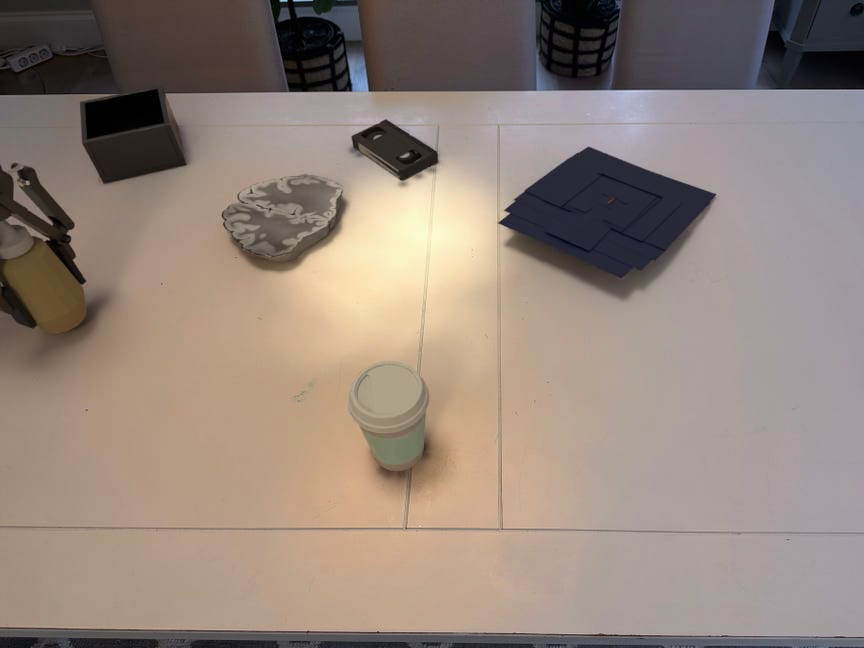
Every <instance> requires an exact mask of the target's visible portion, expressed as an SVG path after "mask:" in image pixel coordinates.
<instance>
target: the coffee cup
mask: <svg viewBox="0 0 864 648" xmlns="http://www.w3.org/2000/svg"><path fill="white" fill-rule="evenodd" d="M347 397H348V398H347V407H348V408H347V409H348V412H349V415H350V417H351V418H352V420H353V421H354V422H355V423H356V424H357V426H359V428H360V431H361V432H362V434H363V437H364V439H365V440H366V442H367V445H368V447H369V449H370V451H371V453H372V454H373V456H374V458H375V460H376V462H377V463H378V465H379V466H380V467H382V468H383V469H385V470H387V471H391V472H404V471H407V470H409V469H412V468H413V467H415V466H416V465H417V464H418V463H419V462H420V461H421V459H422V457H423V455H424V450H425V434H426V419H427V418H426V417H427V409H428V407H429V403H430V392H429V388H428V386H427V383H426V382H425V380H424V378H423V377H422V376H421V375H420V373H418V372H417V371H416V369H414V368H413V367H412V366H411V365H408V364H407V363H404V362H401V361H395V360H383V361H379V362H375V363H372V364H370V365H369V366H367V367H364V369H362V370H361V371H360V372H359V373H357V375H356V376H355V378H354V379H353V381H352V383H351V387H350V389H349V391H348V396H347Z"/></svg>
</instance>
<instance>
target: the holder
mask: <svg viewBox="0 0 864 648" xmlns="http://www.w3.org/2000/svg"><path fill="white" fill-rule="evenodd" d="M79 111H80V114H79V115H80V131H81V133H80V134H81V143H82V146H83V148H84V150H85V152H86V153H87V156H88V157H89V159H90V161H91V163H92V165H93V166H94V169H95V171H96V172H97V174H98V176H99V178H100V180H101V182H102V184H103V185H104V184H109V183H113V182H118V181H122V180H126V179H130V178H131V179H132V178H135V177H139V176H145V175H148V174H152V173H158V172H162V171H165V170H171V169H174V168H180V167H183V166H187V161H186V157H185V152H184V147H183V143H182V138H181V134H180V128H179V125H178V123H177V122H178V121H177V119H176V118H175V115H174V113H173V110H172V108H171V105H170V102H169V100H168V97H167V95H166V92H165V90H164V87H163V85H156V86H152V87H148V88H147V87H146V88H143V89H137V90H132V91H127V92H122V93H117V94H112V95H108V96H102V97H96V98H92V99H87V100H83V101H82V100H81V101H79Z"/></svg>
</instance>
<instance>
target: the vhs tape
mask: <svg viewBox="0 0 864 648" xmlns="http://www.w3.org/2000/svg"><path fill="white" fill-rule="evenodd" d="M350 138H351V143H352V147H353V148H354V149H355V150H357V151H358V152H359V153H361V154H363V155H364V156H366V157H367V158H368V159H370V160H371V161H373V162H374V163H375V164H377V165H378V166H380V167H381V168H382V169H384V170H386V171H387V172H388V173H390V174H391V175H393V176H394V177H396V178H397V179H398V180H400V181H405V180H407V179H408V178H410V177H412V176H414V175H417V174H418V173H420V172H422V171H424V170H425V169H428V168H429V167H431V166H433V165H435V164H437V163H439V154H438V151H437V150H435V149H433V147H431V146H429V145H427V144H426V143H424V142H423V141H421V140H420V139H419V138H417V137H415V136H414V135H411V134H410V133H409V132H407V131H405V130H404V129H402V128H401V127H400V126H397V125H396V124H395V123H393V122H391V121H390V120H389V119H387V118H386V119H384V120H381V121H379V123H376V124H374V125H371V126H369V127H367V128H365V129H363V130H361V131H359V132H357V133H355V134H352V135H351V137H350Z"/></svg>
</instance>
